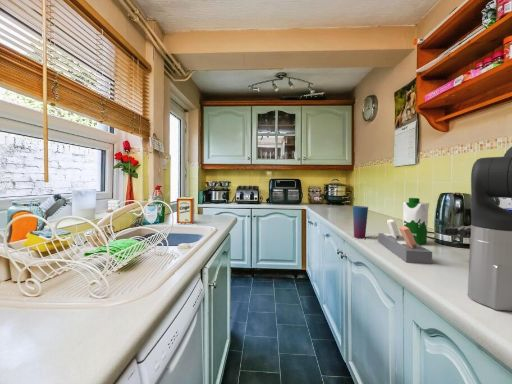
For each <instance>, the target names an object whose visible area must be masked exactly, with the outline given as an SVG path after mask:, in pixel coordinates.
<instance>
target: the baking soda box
mask: <svg viewBox="0 0 512 384" xmlns="http://www.w3.org/2000/svg"><path fill="white" fill-rule="evenodd" d="M193 222H194V223H195V197H185V196H184V197H177V198H176V224H177V223H193ZM194 223H193V224H194Z"/></svg>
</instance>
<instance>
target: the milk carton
mask: <svg viewBox="0 0 512 384" xmlns="http://www.w3.org/2000/svg"><path fill="white" fill-rule="evenodd" d="M429 207H430V203H429V202H420V198H417V197H409V198H408V201H405V202H402V210H403V212H402V214H403V215H402V226H405V227H408V228H409V229H410V231H411V233H412V235H413V237H414V239H415V242H416V244H418V245H420V246H422V245H424V244H427V240H428V239H427V238H428V226H429V223H428V220H429Z"/></svg>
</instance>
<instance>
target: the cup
mask: <svg viewBox="0 0 512 384" xmlns="http://www.w3.org/2000/svg"><path fill="white" fill-rule="evenodd" d="M368 213H369V206H365V205H353V206H352V216H353V217H352V219H353V220H352V221H353V223H352V224H353V237H354V238H355V239H365V238H366V233H367V224H368V223H367V221H368Z"/></svg>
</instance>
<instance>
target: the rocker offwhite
mask: <svg viewBox="0 0 512 384" xmlns="http://www.w3.org/2000/svg"><path fill="white" fill-rule="evenodd" d="M386 224H387V226H388V229H389V232H390V234H391V235H392V237H394V238H396V239H397V238H400V235H401V233H400V230H399V227H398V226H397V225H398V224H396V220H393V219H387V220H386Z"/></svg>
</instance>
